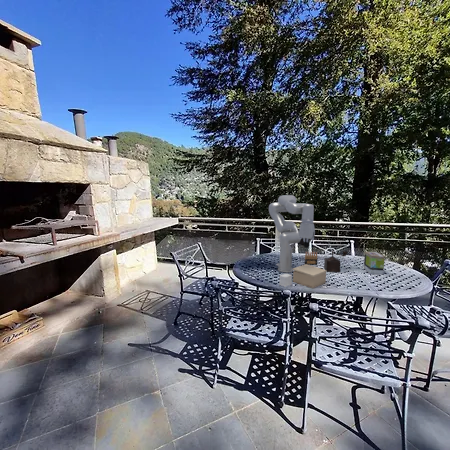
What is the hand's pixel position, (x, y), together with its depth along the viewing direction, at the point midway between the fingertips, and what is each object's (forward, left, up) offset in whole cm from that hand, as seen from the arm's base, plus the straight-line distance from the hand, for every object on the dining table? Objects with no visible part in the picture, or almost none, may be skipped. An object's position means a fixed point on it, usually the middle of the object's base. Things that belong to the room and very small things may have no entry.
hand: (306, 247), depth 177 cm
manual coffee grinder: (+2, +40, -25) cm, 48 cm away
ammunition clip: (-20, +40, -25) cm, 52 cm away
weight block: (-5, -17, -25) cm, 31 cm away
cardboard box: (+3, 0, -25) cm, 25 cm away
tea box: (+23, +61, -25) cm, 70 cm away
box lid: (+3, 0, -17) cm, 17 cm away
